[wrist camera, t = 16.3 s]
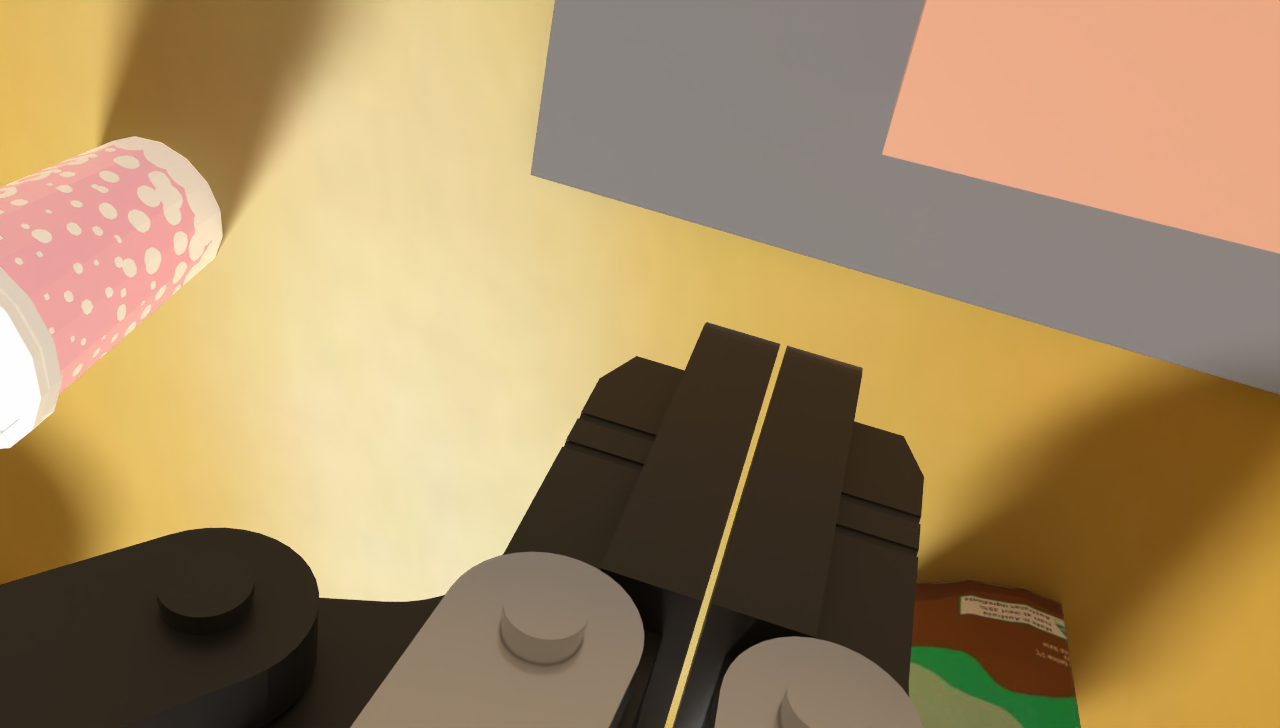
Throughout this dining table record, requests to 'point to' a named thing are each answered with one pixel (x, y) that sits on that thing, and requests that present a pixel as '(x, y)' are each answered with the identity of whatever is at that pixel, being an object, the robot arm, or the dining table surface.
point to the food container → (990, 658)
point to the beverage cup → (91, 264)
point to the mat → (871, 176)
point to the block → (1105, 106)
